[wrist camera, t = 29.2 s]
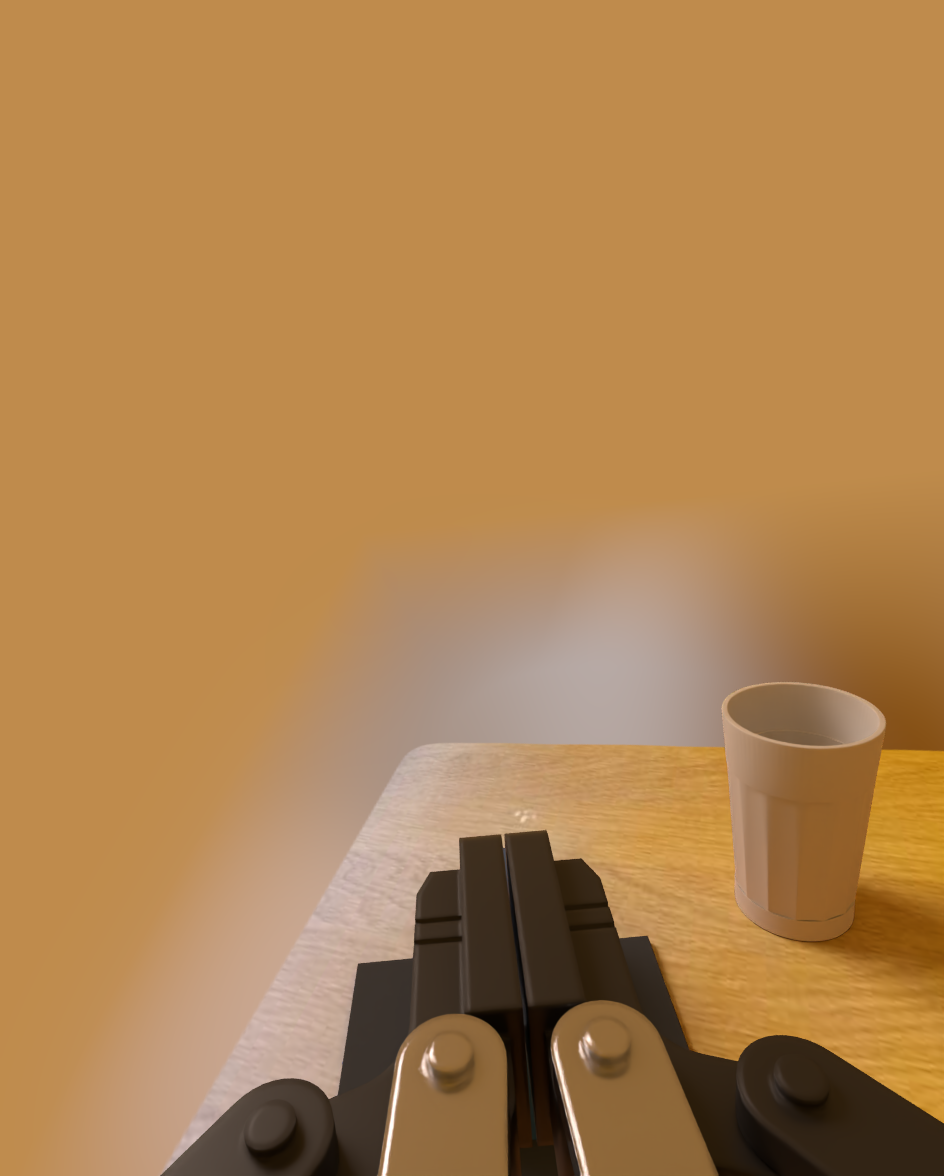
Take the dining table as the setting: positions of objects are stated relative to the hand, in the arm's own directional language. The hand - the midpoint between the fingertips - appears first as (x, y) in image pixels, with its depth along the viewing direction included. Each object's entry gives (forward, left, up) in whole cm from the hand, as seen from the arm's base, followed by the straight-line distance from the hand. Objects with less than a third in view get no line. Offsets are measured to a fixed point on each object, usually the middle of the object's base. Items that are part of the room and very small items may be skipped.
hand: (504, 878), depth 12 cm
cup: (+17, +24, -22) cm, 37 cm away
